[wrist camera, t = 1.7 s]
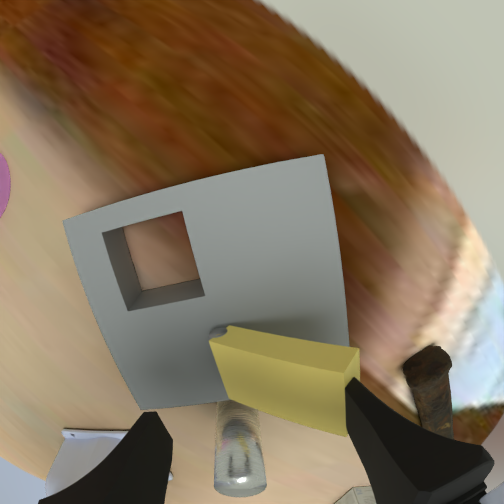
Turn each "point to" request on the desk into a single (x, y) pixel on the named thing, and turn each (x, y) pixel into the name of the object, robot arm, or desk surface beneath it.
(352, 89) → the desk surface
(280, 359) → the latch flap
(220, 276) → the plate
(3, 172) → the bracket
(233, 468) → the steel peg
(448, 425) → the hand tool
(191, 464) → the desk surface
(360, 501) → the light bulb box
